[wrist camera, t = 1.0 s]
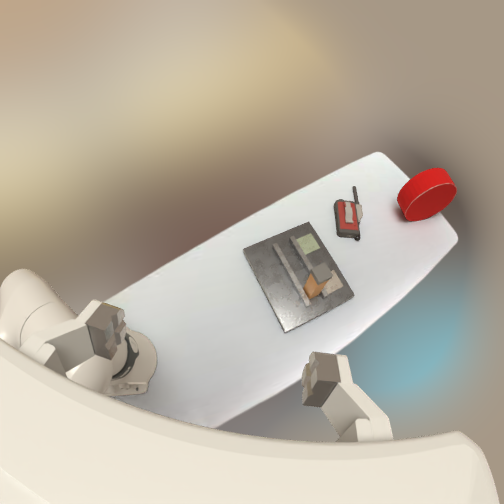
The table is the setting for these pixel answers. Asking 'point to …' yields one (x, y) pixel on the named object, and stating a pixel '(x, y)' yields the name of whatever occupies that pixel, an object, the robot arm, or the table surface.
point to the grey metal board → (296, 275)
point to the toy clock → (426, 194)
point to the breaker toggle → (317, 280)
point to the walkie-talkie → (348, 217)
